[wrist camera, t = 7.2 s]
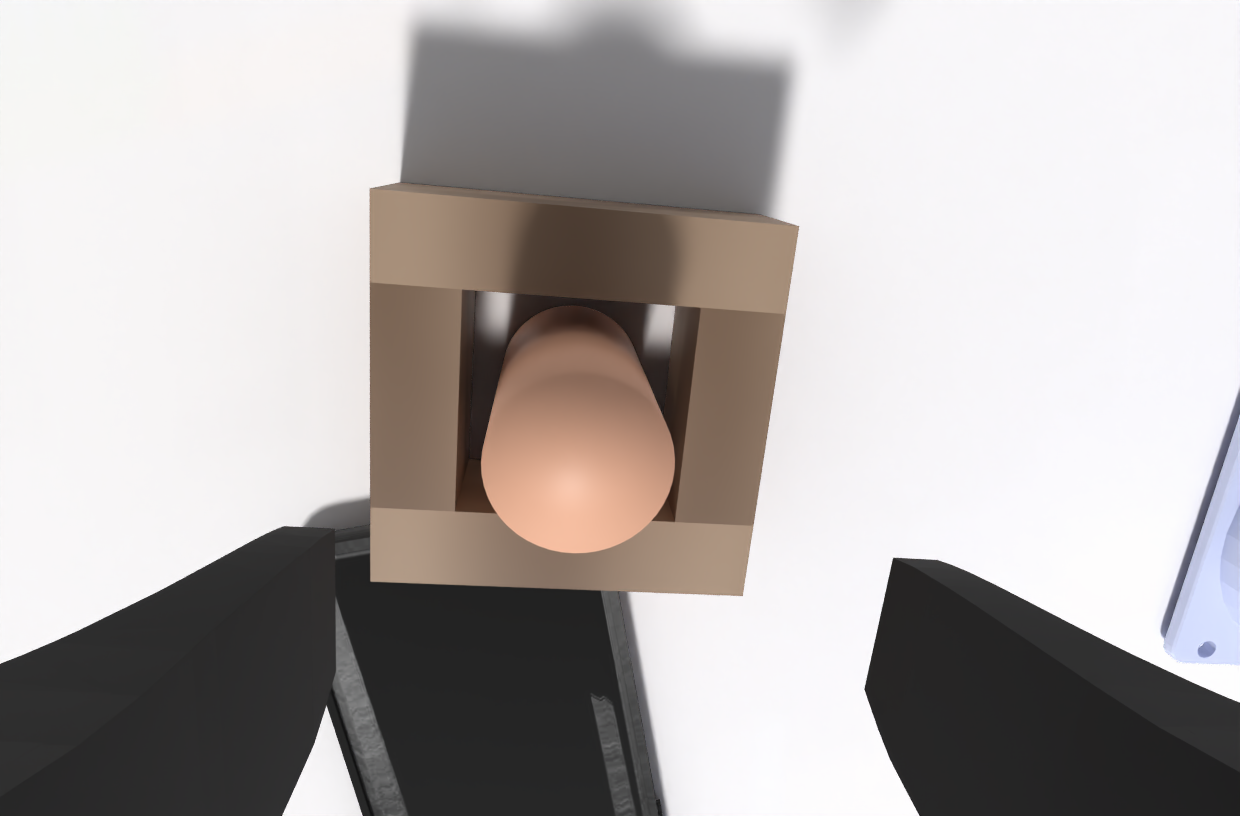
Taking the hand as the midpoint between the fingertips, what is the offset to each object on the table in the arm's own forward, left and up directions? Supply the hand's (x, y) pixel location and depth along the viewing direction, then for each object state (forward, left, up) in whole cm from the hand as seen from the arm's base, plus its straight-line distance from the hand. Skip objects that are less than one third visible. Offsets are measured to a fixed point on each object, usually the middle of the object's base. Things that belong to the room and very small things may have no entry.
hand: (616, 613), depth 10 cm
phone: (+1, +10, -10) cm, 14 cm away
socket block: (0, -1, -9) cm, 9 cm away
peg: (0, -1, -9) cm, 9 cm away
